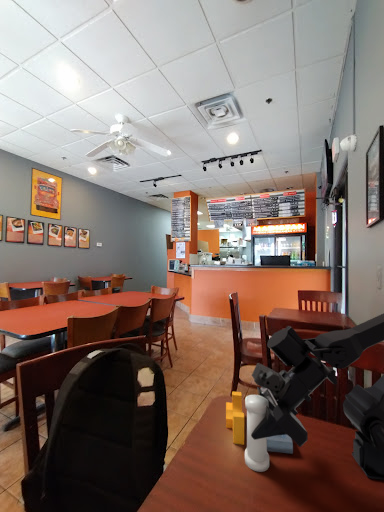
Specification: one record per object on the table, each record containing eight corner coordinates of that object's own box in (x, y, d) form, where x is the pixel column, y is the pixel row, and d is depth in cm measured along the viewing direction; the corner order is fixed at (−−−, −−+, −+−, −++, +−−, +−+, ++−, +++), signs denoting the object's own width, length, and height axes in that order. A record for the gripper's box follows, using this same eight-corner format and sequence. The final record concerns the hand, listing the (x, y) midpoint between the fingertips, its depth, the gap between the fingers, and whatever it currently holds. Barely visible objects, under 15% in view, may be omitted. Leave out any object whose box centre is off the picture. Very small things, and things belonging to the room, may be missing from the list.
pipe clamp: (226, 413, 70) (226, 390, 70) (241, 415, 69) (241, 392, 70) (225, 443, 58) (226, 415, 58) (244, 445, 57) (244, 417, 58)
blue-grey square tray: (283, 427, 64) (282, 418, 64) (292, 453, 55) (292, 442, 55) (248, 424, 65) (248, 415, 65) (252, 449, 56) (252, 438, 56)
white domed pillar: (266, 453, 55) (266, 395, 55) (271, 473, 49) (271, 408, 50) (243, 451, 55) (243, 393, 56) (245, 470, 50) (245, 406, 51)
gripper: (263, 340, 63) (221, 382, 63) (289, 371, 44) (229, 431, 44) (294, 372, 62) (251, 414, 62) (334, 417, 43) (273, 478, 43)
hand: (250, 430), depth 53 cm, fingers closed on white domed pillar, 4 cm apart
